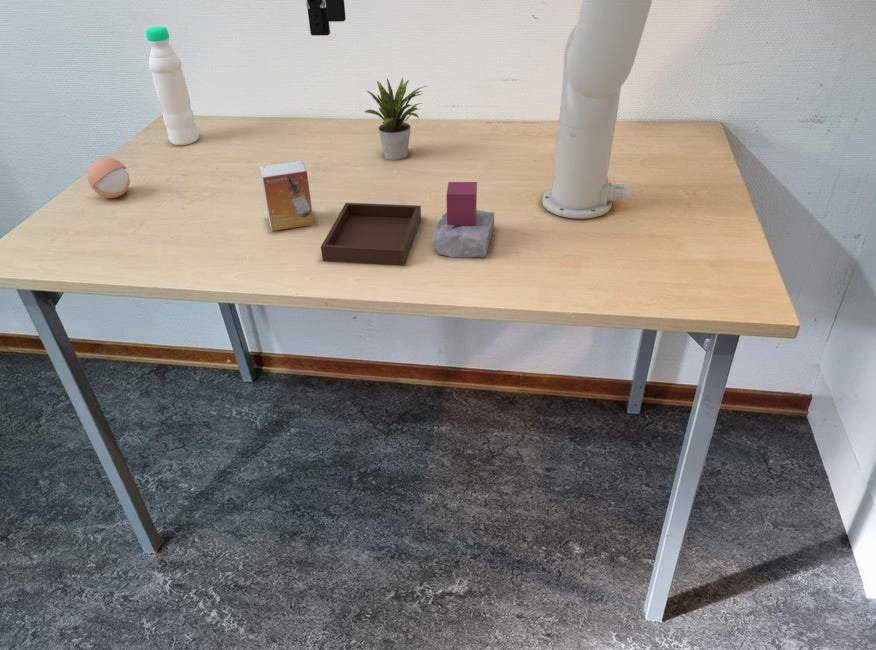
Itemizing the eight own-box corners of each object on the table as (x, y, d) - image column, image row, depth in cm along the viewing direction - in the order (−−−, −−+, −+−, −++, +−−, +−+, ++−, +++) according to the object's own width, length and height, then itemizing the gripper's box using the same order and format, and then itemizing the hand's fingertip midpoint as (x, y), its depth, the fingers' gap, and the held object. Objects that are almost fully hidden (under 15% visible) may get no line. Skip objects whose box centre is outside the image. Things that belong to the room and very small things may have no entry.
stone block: (432, 265, 112) (491, 258, 109) (426, 239, 109) (486, 231, 106) (444, 234, 121) (498, 227, 118) (438, 210, 119) (493, 202, 115)
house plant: (424, 171, 139) (422, 90, 129) (360, 170, 141) (352, 91, 131) (432, 145, 150) (431, 69, 139) (372, 145, 152) (367, 70, 142)
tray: (421, 219, 122) (420, 205, 120) (404, 265, 109) (403, 250, 107) (347, 216, 124) (345, 202, 122) (322, 261, 112) (320, 246, 110)
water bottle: (169, 138, 162) (139, 26, 147) (198, 133, 164) (171, 22, 148) (170, 148, 157) (138, 33, 141) (200, 143, 158) (172, 29, 143)
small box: (271, 232, 121) (261, 177, 114) (268, 219, 125) (257, 165, 118) (314, 225, 122) (307, 170, 115) (310, 212, 126) (302, 159, 120)
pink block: (476, 212, 114) (477, 181, 111) (475, 225, 110) (476, 194, 107) (448, 212, 115) (448, 181, 111) (446, 225, 111) (446, 194, 107)
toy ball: (111, 207, 133) (97, 169, 128) (87, 199, 136) (73, 162, 131) (142, 192, 138) (131, 155, 133) (118, 185, 141) (106, 148, 136)
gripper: (323, -90, 94) (336, 40, 104) (353, -101, 107) (362, 16, 117) (273, -88, 95) (291, 41, 106) (309, -99, 108) (322, 16, 119)
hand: (328, 27), depth 112 cm, fingers open, 9 cm apart
